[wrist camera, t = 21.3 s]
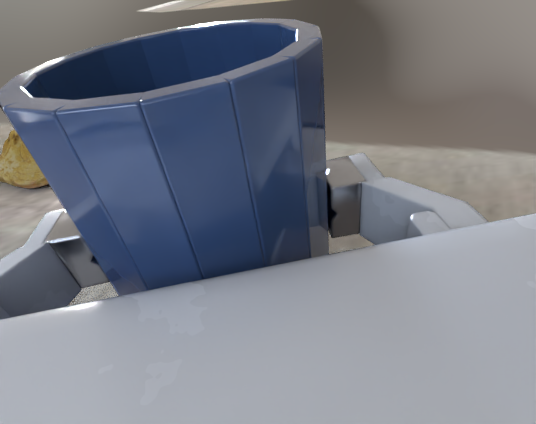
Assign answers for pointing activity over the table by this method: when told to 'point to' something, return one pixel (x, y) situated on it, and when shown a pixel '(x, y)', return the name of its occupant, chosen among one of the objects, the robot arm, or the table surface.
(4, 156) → the fossil
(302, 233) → the cup
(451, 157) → the table surface
